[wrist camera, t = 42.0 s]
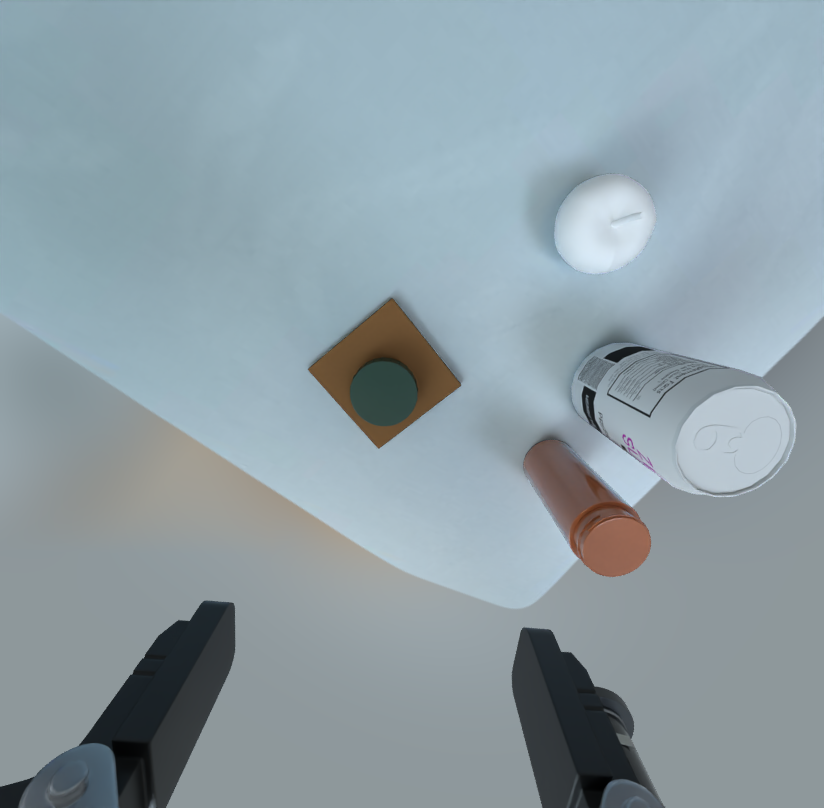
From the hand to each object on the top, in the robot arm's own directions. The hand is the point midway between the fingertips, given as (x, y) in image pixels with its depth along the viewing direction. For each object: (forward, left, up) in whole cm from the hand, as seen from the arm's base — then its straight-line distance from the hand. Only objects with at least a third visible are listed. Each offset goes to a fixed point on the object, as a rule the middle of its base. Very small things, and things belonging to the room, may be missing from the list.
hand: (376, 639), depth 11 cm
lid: (+1, +1, -26) cm, 26 cm away
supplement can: (-12, -16, -28) cm, 35 cm away
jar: (-15, -7, -28) cm, 33 cm away
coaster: (+2, 0, -28) cm, 28 cm away
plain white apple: (+1, -21, -28) cm, 35 cm away
